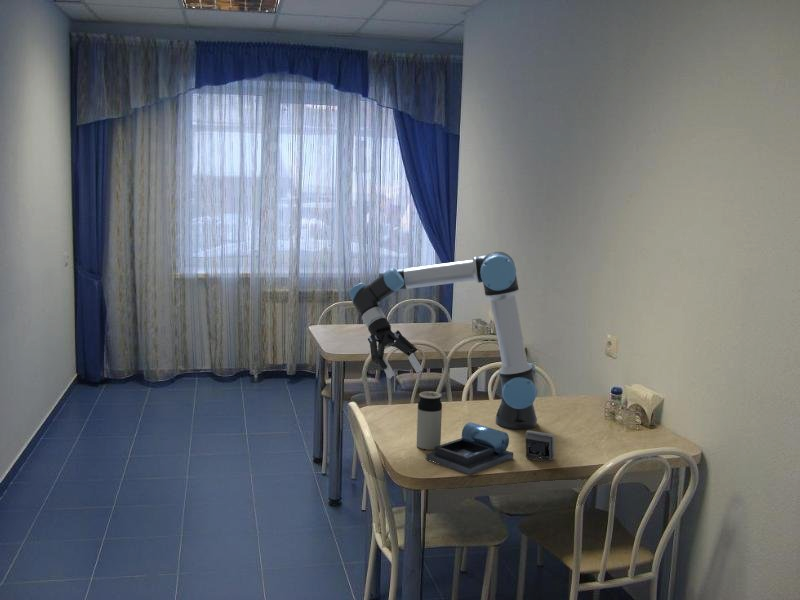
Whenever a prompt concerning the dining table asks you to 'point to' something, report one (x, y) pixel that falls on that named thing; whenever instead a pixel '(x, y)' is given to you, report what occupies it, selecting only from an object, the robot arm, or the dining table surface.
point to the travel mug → (429, 420)
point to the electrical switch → (540, 446)
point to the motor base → (473, 450)
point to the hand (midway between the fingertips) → (405, 373)
